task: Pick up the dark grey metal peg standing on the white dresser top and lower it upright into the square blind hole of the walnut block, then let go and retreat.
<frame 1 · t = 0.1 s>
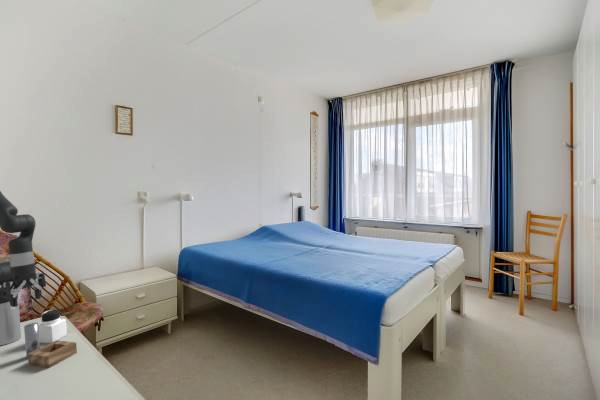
hand: (26, 302, 125), 17 cm above the table, tool pointing down, fingers open, 8 cm apart
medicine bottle: (52, 339, 129), on the table
bore block: (53, 358, 113), on the table
peg: (33, 355, 116), on the table
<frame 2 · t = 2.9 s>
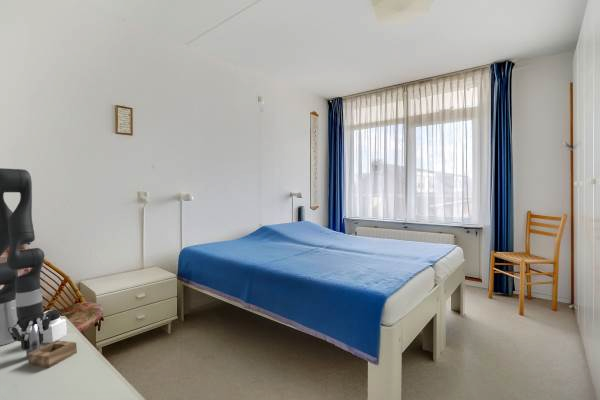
hand: (32, 346, 116), 4 cm above the table, tool pointing down, fingers closed on peg, 4 cm apart
peg: (33, 355, 116), on the table, touching gripper
everything else where it was.
when the fingers open (5 cm above the table, at t = 7.2 s): peg stays where it is, resting on bore block.
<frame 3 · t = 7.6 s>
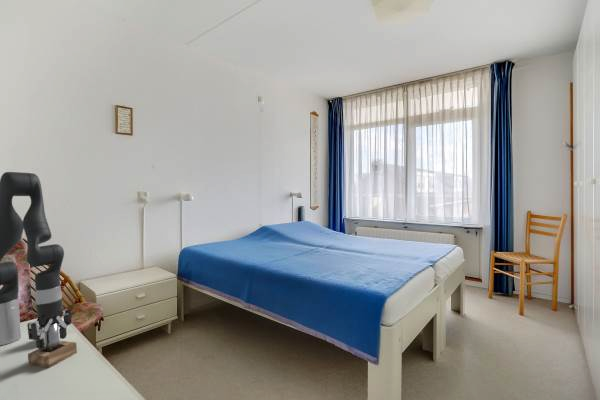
hand: (52, 343, 113), 6 cm above the table, tool pointing down, fingers open, 7 cm apart
peg: (53, 355, 113), point 1 cm above the table, touching bore block
everything else where it was.
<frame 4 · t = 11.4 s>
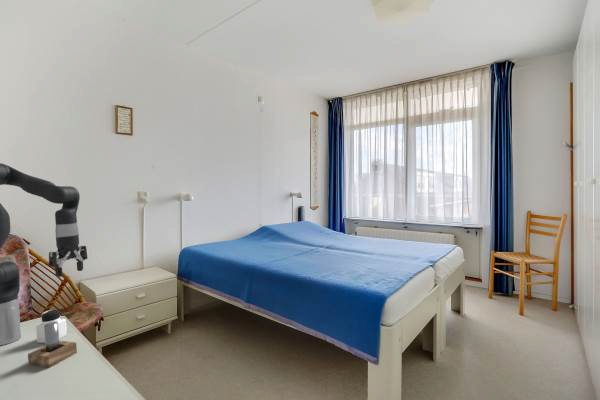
hand: (70, 273, 126), 28 cm above the table, tool pointing down, fingers open, 8 cm apart
nothing on the table moved.
at the end: peg 0.0 cm off-centre on the bore block, point 1.0 cm above the bore block's base; peg tilted 0°; the gripper is holding nothing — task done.
